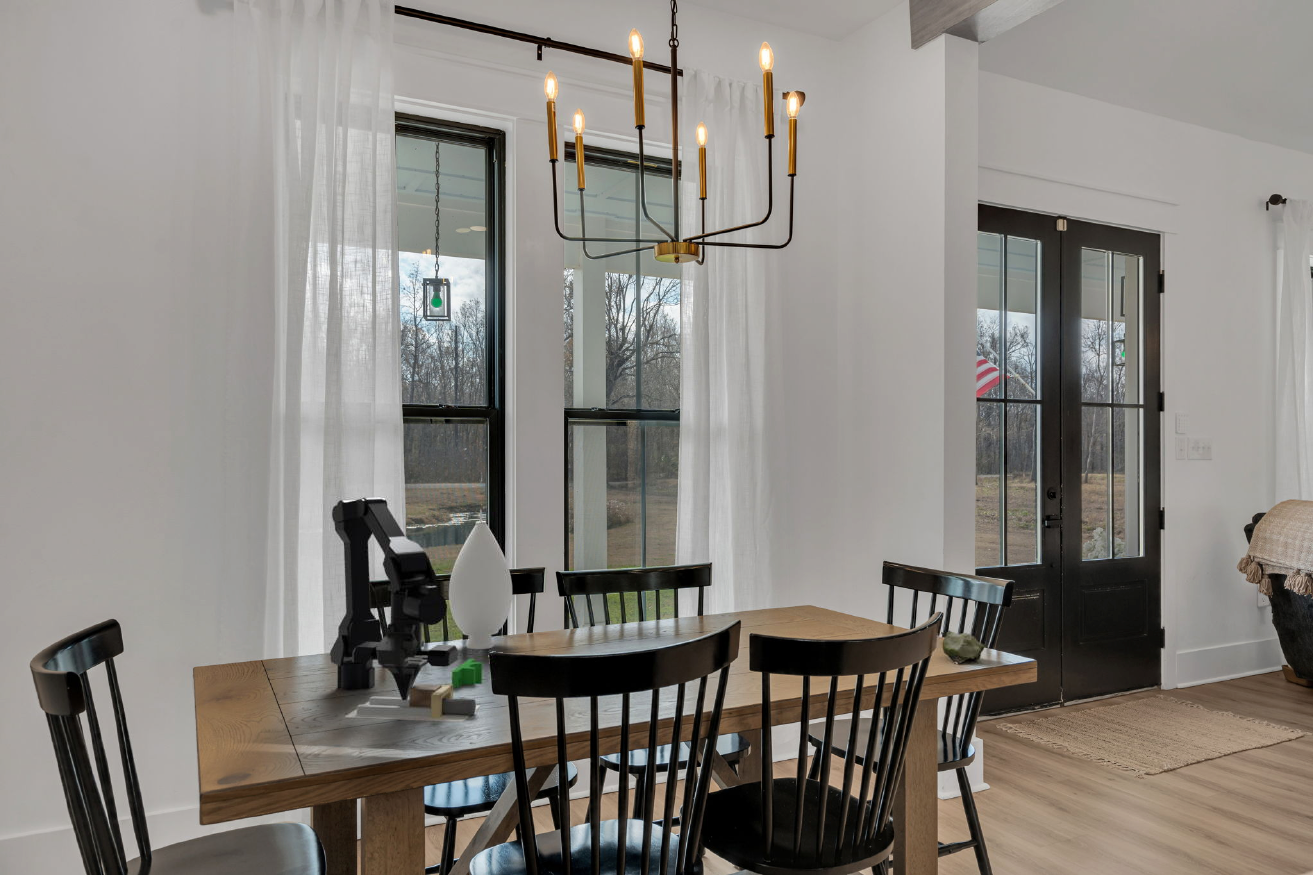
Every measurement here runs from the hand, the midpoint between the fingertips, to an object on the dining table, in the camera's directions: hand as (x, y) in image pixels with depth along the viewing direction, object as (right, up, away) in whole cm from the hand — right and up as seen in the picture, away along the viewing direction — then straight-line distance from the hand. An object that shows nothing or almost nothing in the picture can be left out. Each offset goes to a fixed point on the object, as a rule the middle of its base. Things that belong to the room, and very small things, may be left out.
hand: (404, 699), depth 163 cm
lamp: (+2, -4, +58) cm, 58 cm away
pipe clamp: (+7, -4, +21) cm, 23 cm away
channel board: (+2, -3, 0) cm, 4 cm away
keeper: (+4, -2, 0) cm, 5 cm away
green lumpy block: (+121, -5, +46) cm, 130 cm away
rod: (+10, -2, -1) cm, 10 cm away
